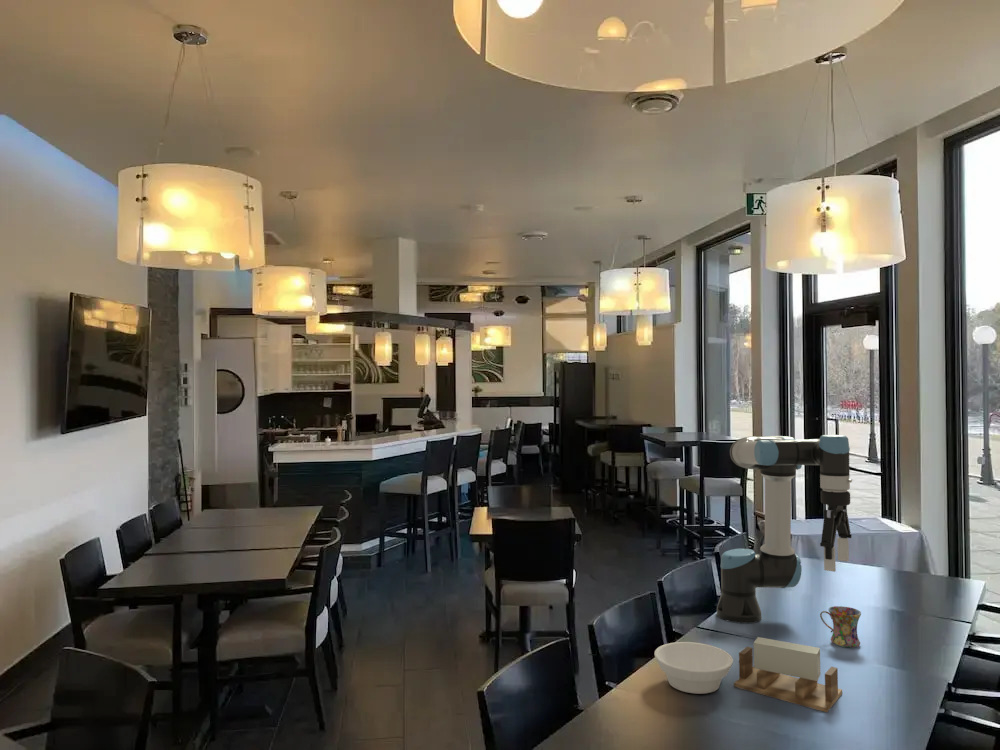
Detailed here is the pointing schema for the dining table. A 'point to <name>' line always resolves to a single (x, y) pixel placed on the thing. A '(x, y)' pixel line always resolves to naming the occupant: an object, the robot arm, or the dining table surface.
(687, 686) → the bowl
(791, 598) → the dining table surface
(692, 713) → the dining table surface
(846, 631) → the mug
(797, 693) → the rack
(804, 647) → the block
